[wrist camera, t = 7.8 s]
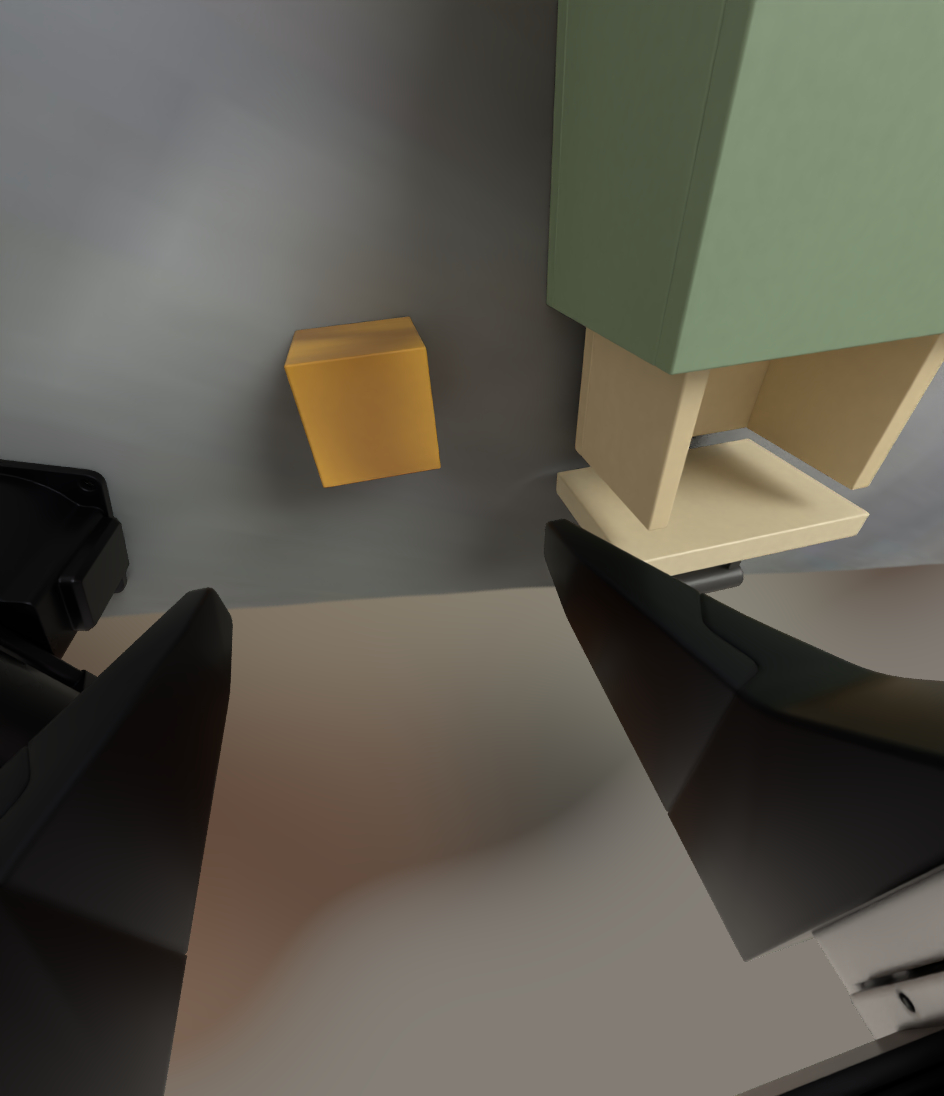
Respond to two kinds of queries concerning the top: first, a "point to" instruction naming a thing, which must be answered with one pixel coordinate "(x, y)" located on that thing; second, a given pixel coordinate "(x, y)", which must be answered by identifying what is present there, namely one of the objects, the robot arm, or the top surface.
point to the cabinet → (748, 176)
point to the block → (364, 400)
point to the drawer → (735, 451)
